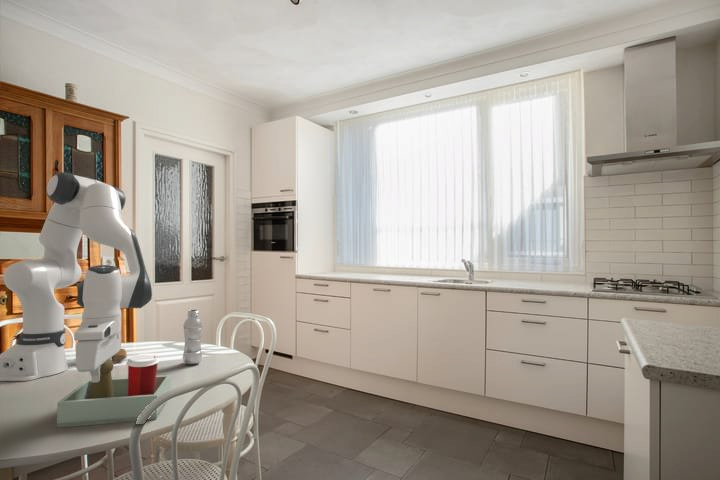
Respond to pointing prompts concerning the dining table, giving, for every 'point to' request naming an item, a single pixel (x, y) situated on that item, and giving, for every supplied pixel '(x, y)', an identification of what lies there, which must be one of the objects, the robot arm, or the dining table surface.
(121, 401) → the pale green tray
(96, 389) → the cork
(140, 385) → the paper cup
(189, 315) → the plastic bottle
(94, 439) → the dining table surface
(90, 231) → the robot arm
